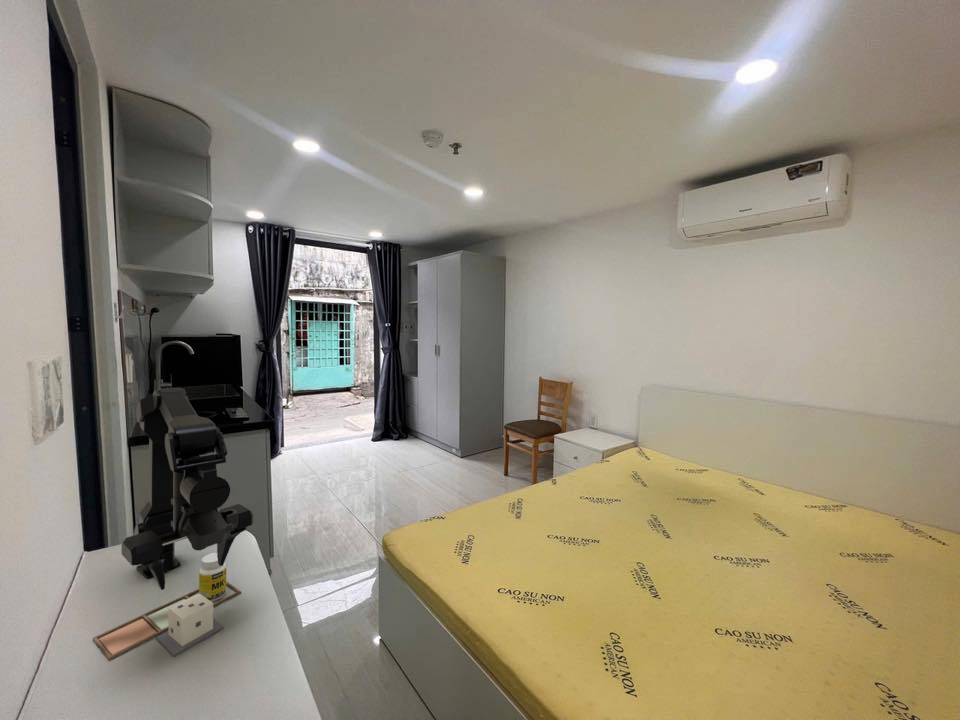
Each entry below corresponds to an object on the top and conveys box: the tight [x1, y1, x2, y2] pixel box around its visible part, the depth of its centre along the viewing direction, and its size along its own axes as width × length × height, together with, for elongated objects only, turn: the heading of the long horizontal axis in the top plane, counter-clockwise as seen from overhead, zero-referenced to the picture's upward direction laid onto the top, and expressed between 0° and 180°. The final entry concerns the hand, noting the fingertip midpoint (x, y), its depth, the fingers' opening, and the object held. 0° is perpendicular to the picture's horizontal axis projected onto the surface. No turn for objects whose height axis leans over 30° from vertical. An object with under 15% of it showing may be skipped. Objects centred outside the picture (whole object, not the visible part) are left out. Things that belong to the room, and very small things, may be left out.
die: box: [169, 593, 214, 646], centre depth 74 cm, size 5×5×5 cm
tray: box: [92, 580, 242, 662], centre depth 78 cm, size 8×21×1 cm, turn 149°
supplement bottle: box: [198, 551, 227, 603], centre depth 84 cm, size 5×5×8 cm
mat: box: [155, 618, 225, 658], centre depth 74 cm, size 7×8×1 cm
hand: (192, 576), depth 73 cm, fingers open, 9 cm apart
